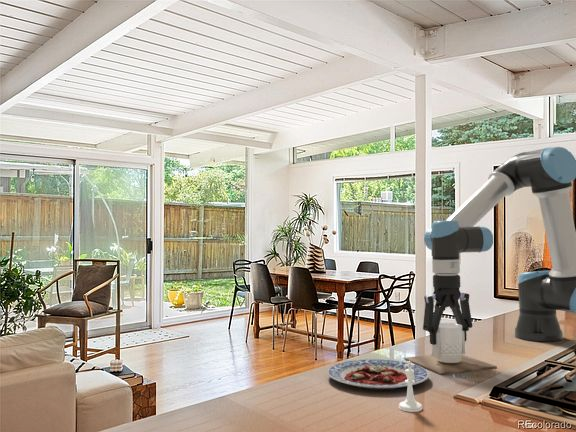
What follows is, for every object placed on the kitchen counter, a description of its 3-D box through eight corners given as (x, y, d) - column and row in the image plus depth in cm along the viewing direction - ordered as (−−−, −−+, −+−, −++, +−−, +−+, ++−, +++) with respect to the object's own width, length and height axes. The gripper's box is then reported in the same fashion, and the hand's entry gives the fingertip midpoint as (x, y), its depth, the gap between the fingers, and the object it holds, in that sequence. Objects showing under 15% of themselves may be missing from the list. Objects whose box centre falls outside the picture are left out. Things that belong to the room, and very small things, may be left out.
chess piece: (395, 404, 113) (394, 358, 113) (417, 403, 113) (416, 358, 114) (402, 412, 108) (401, 364, 108) (425, 411, 108) (424, 363, 109)
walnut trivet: (455, 353, 158) (455, 352, 158) (496, 368, 141) (496, 366, 141) (404, 359, 152) (404, 357, 152) (440, 375, 135) (440, 373, 135)
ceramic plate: (413, 402, 115) (412, 388, 115) (310, 387, 128) (310, 375, 128) (440, 373, 138) (439, 362, 138) (350, 363, 150) (350, 353, 150)
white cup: (465, 364, 142) (464, 327, 142) (435, 363, 144) (434, 327, 144) (461, 357, 150) (460, 322, 150) (433, 356, 151) (432, 322, 152)
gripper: (422, 276, 141) (425, 361, 140) (484, 273, 147) (487, 353, 147) (408, 274, 148) (410, 355, 147) (467, 271, 154) (470, 348, 154)
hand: (448, 354), depth 147 cm, fingers closed on white cup, 8 cm apart
